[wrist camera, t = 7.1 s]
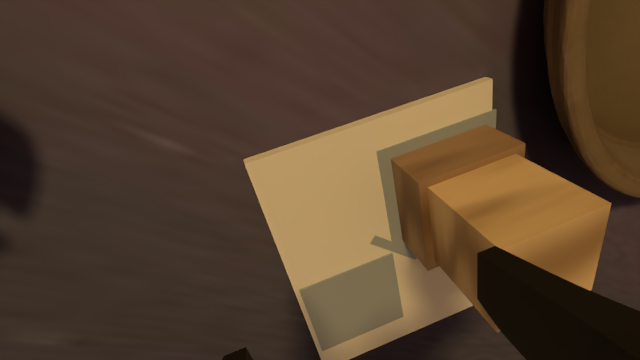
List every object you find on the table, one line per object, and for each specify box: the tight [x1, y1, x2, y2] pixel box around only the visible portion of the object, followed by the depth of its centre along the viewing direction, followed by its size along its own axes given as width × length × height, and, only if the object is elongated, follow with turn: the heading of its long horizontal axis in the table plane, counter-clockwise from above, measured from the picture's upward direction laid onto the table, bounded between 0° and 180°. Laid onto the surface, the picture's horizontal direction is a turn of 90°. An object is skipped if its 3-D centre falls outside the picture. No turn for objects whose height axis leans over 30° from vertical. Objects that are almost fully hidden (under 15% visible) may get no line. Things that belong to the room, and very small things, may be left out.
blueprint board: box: [243, 77, 496, 360], centre depth 23 cm, size 18×14×1 cm
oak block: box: [428, 154, 612, 332], centre depth 17 cm, size 5×5×5 cm
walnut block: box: [391, 124, 526, 271], centre depth 21 cm, size 6×6×3 cm
